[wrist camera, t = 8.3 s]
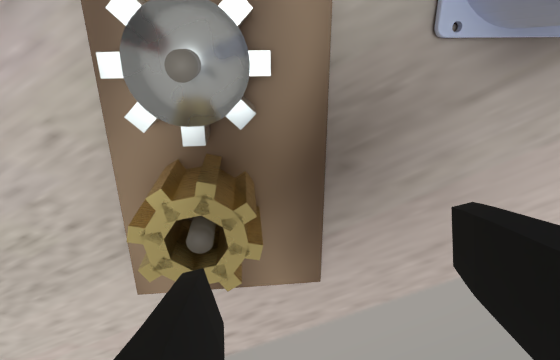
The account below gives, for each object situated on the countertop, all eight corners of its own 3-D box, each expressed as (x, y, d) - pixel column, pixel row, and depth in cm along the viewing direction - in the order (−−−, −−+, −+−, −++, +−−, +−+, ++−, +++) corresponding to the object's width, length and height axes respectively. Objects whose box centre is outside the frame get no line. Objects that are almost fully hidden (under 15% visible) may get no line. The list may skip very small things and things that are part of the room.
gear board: (327, -7, 17) (356, -25, 12) (317, 271, 22) (334, 323, 18) (88, -8, 16) (32, -28, 11) (142, 283, 21) (117, 341, 17)
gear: (265, -22, 15) (268, -32, 13) (268, 132, 18) (271, 143, 16) (102, -23, 15) (79, -35, 13) (129, 136, 17) (113, 148, 15)
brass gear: (266, 238, 20) (271, 282, 16) (169, 258, 20) (152, 307, 16) (246, 145, 18) (247, 171, 14) (137, 166, 18) (109, 198, 14)
